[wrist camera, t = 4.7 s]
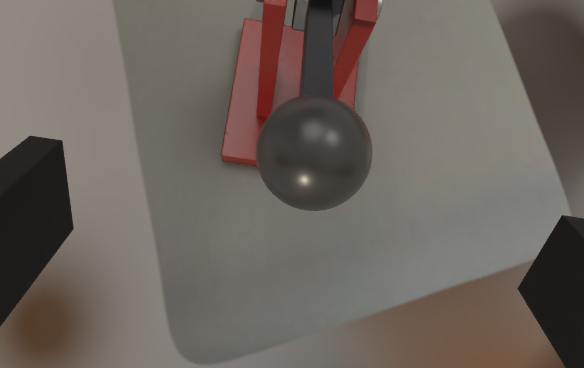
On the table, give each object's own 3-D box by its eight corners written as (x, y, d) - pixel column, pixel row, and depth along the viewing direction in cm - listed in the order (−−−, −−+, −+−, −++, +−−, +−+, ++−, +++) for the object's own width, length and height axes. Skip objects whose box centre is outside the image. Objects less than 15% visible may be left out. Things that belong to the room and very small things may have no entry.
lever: (357, 240, 13) (394, 162, 11) (244, 225, 13) (254, 140, 11) (345, 23, 23) (363, -47, 20) (279, 12, 23) (289, -61, 20)
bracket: (343, 178, 31) (417, 98, 18) (221, 160, 30) (203, 63, 17) (356, 47, 34) (428, -109, 20) (244, 27, 33) (243, -146, 20)
